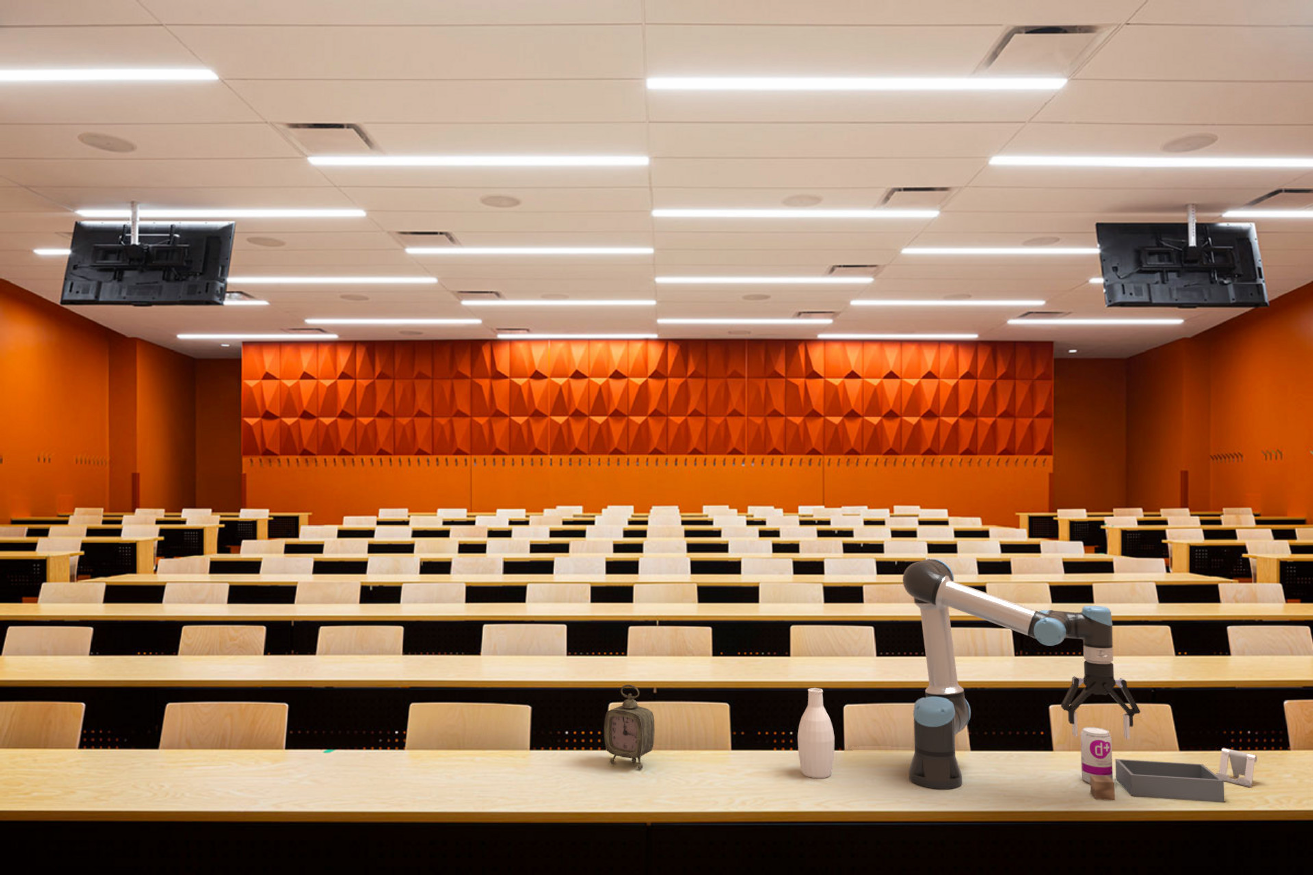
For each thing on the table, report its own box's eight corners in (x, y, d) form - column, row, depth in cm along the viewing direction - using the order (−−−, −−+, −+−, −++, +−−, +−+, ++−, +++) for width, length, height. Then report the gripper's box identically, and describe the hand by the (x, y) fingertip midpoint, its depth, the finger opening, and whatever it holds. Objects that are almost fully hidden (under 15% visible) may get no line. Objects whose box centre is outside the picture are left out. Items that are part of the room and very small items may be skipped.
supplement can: (1116, 787, 252) (1115, 734, 253) (1086, 785, 254) (1084, 733, 254) (1107, 777, 260) (1106, 727, 261) (1078, 775, 261) (1077, 725, 262)
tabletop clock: (603, 764, 274) (603, 684, 275) (619, 756, 281) (619, 679, 283) (642, 772, 266) (642, 690, 267) (657, 764, 274) (657, 684, 275)
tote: (1131, 795, 245) (1131, 774, 245) (1115, 778, 259) (1115, 758, 259) (1224, 801, 240) (1223, 780, 240) (1203, 784, 254) (1202, 764, 254)
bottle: (820, 765, 272) (819, 684, 273) (842, 776, 262) (841, 691, 263) (790, 770, 267) (790, 687, 268) (812, 782, 257) (811, 695, 258)
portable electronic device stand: (1216, 780, 258) (1215, 751, 258) (1226, 774, 263) (1225, 746, 263) (1249, 788, 251) (1248, 758, 251) (1259, 782, 256) (1258, 753, 256)
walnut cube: (1095, 799, 242) (1095, 781, 243) (1090, 792, 247) (1090, 775, 248) (1115, 800, 241) (1114, 782, 242) (1109, 794, 246) (1109, 776, 247)
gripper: (1054, 662, 246) (1057, 737, 244) (1150, 665, 240) (1153, 742, 239) (1048, 656, 253) (1050, 730, 252) (1141, 660, 248) (1144, 735, 247)
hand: (1100, 736), depth 245 cm, fingers open, 13 cm apart
